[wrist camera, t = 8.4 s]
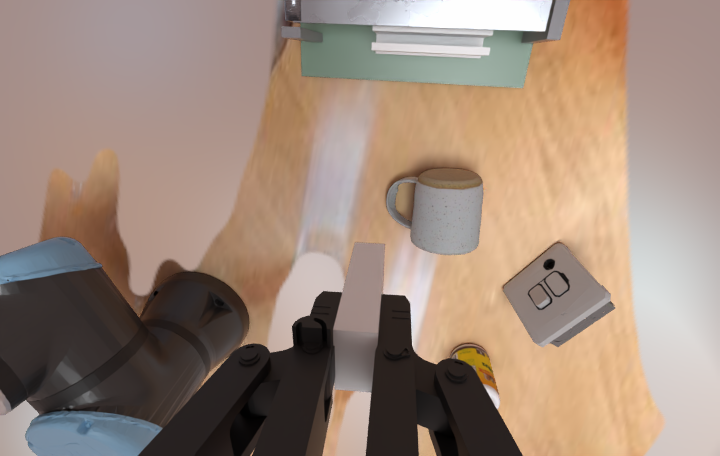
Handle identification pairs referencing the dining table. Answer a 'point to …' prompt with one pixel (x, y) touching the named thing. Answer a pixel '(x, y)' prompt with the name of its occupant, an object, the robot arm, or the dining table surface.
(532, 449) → the dining table surface
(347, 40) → the base
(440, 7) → the grey retaining bar
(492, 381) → the supplement bottle
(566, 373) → the dining table surface
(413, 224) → the ceramic mug
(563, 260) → the electrical switch
